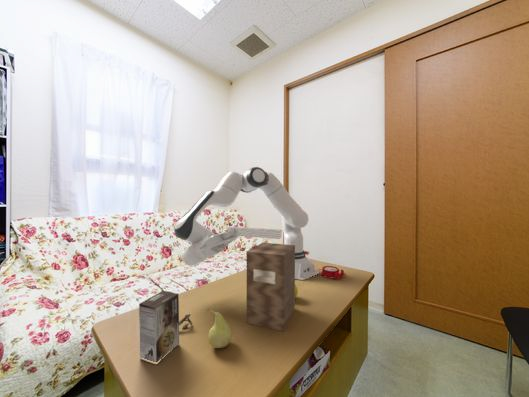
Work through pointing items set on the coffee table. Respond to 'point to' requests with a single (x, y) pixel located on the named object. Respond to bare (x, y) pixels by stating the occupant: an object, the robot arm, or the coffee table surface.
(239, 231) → the aluminium bar
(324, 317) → the coffee table surface
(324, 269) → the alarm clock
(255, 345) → the coffee table surface
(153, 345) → the coffee box
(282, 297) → the brown patterned box
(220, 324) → the fruit
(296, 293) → the tennis ball
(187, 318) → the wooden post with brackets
